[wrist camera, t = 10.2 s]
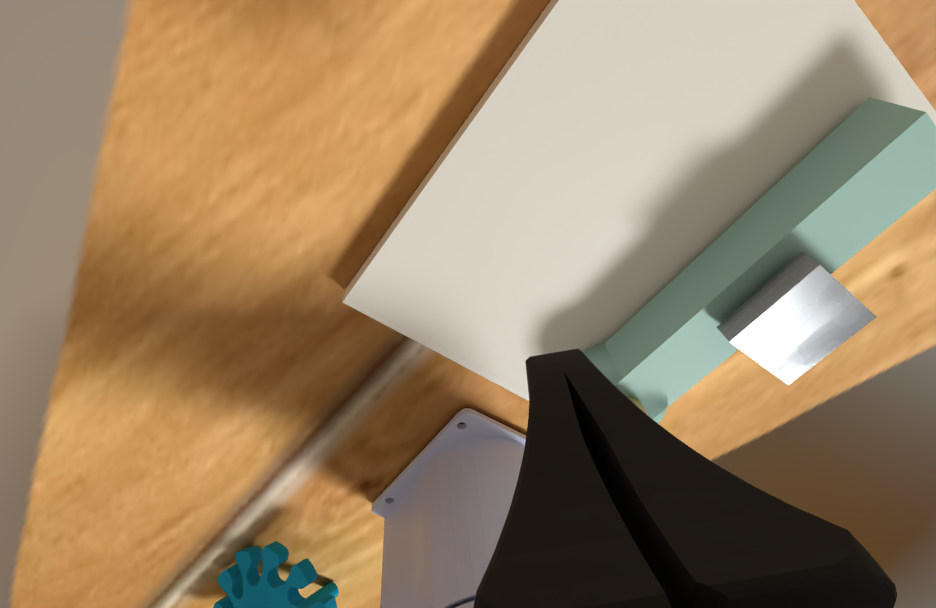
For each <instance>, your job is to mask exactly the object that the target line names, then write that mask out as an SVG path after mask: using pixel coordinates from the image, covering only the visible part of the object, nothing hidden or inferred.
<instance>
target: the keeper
mask: <svg viewBox="0 0 936 608" xmlns="http://www.w3.org/2000/svg"><path fill="white" fill-rule="evenodd" d="M875 318H876V316H875V315H874V314H873V313H872V312H870V311H869V310H868V309H867V308H866V307H865V306H864V305H863V304H862V303H861V302H860V301H859V300H858V299H856V298H855V297H854V296H853V295H852V294H851V293H850V292H849V291H848V290H847V289H846V288H845V287H844V286H843V285H841V284H840V283H839V282H838V281H837V280H836V279H835V278H834V277H833V276H832V275H831V274H830V273H829V272H828V271H826V270H825V269H824V268H823V267H822V266H821V265H820V264H819V263H817V262H816V261H814V260H813V259H811V258H810V257H809V256H807V255H806V254H804V253H803V252H801V253H800V254H799V255H798V256H796V257H795V258H794V259H793V260H792V261H791V262H790V263H789V264H787V265H786V266H785V267H784V268H783V269H782V270H781V271H779V272H778V273H777V274H776V275H775V276H774V277H773V278H771V279H770V280H769V281H768V282H767V283H766V284H765V285H764V286H762V287H761V288H760V289H759V290H758V291H757V292H756V293H754V294H753V295H752V296H751V297H750V298H749V299H748V300H747V301H745V302H744V303H743V304H742V305H741V306H740V307H739V308H737V309H736V310H735V311H734V312H733V313H732V314H731V315H730V316H728V317H727V318H726V319H725V320H724V321H723V322H722V323H720V324H719V325H718V326H717V328H718V330H719V331H720V332H721V333H722V334H723V335H724V336H725V338H726V339H727V340H728V341H729V342H730V343H731V344H733V345H734V346H735V347H737V348H738V349H740V350H741V351H742V352H744V353H745V354H746V355H748V356H749V357H751V358H752V359H753V360H755V361H756V362H757V363H759V364H760V365H761V366H763V367H764V368H766V369H767V370H768V371H770V372H771V373H772V374H774V375H775V376H776V377H778V378H779V379H781V380H782V381H783V382H785V383H786V384H787V385H789V384H791V383H792V382H793V381H795V380H796V379H797V378H798V377H800V376H801V375H802V374H804V373H805V372H806V371H807V370H809V369H810V368H811V367H813V366H814V365H815V364H816V363H818V362H819V361H820V360H822V359H823V358H824V357H826V356H827V355H828V354H829V353H831V352H832V351H833V350H835V349H836V348H837V347H838V346H840V345H841V344H842V343H844V342H845V341H846V340H847V339H849V338H850V337H851V336H853V335H854V334H855V333H856V332H858V331H859V330H860V329H862V328H863V327H864V326H866V325H867V324H868V323H869V322H871V321H872V320H873V319H875Z"/></svg>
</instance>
